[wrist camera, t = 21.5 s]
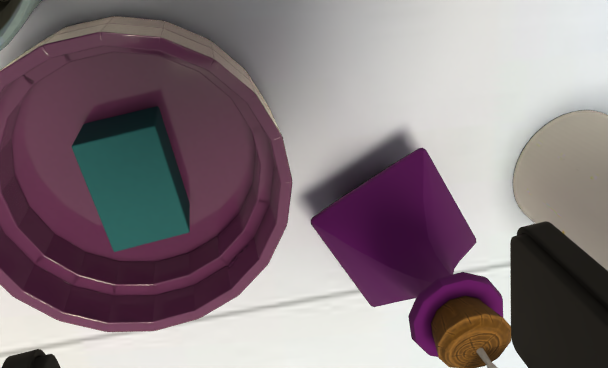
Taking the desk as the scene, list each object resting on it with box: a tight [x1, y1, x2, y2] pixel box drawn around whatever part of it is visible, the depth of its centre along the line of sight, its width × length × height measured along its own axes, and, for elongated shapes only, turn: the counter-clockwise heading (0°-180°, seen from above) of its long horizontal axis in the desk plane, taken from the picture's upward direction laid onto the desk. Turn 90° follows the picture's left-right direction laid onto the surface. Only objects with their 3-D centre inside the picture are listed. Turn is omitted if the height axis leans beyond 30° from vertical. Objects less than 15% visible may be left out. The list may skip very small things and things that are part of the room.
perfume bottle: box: [311, 148, 511, 368], centre depth 28 cm, size 8×8×18 cm
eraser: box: [72, 106, 190, 252], centre depth 30 cm, size 6×4×4 cm, turn 11°
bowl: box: [0, 16, 292, 332], centre depth 29 cm, size 15×15×6 cm
